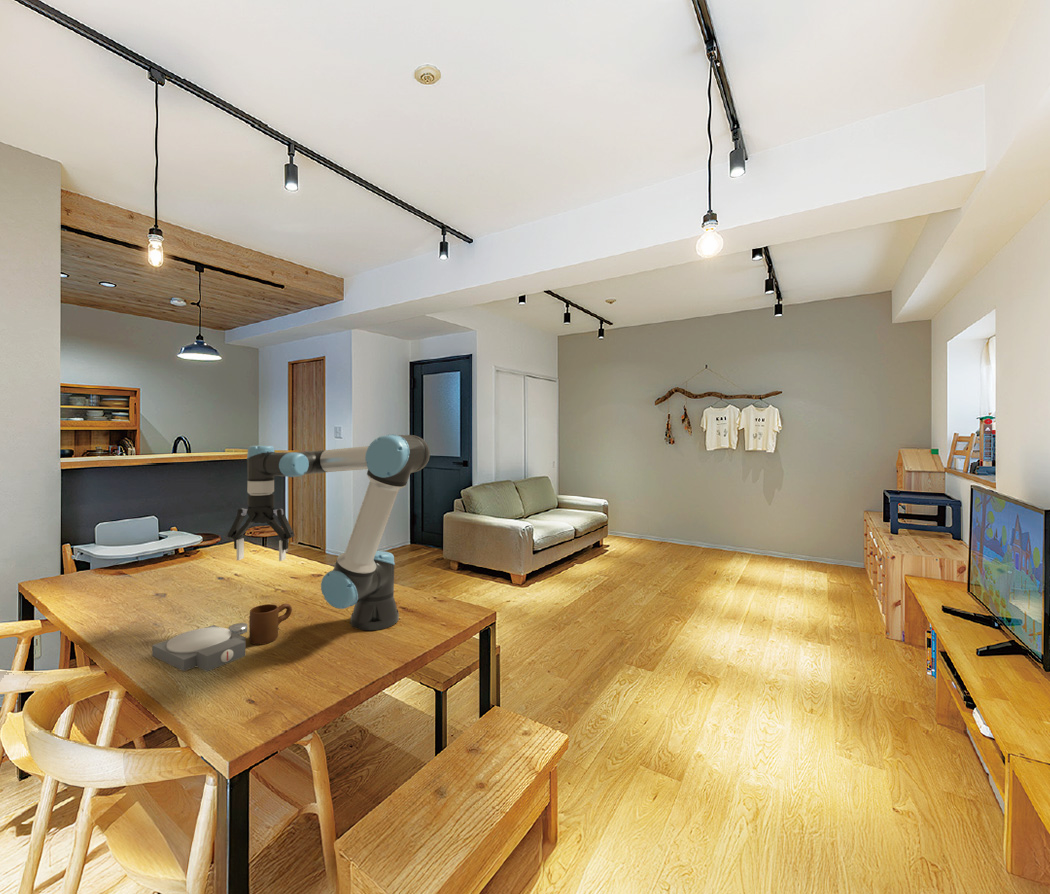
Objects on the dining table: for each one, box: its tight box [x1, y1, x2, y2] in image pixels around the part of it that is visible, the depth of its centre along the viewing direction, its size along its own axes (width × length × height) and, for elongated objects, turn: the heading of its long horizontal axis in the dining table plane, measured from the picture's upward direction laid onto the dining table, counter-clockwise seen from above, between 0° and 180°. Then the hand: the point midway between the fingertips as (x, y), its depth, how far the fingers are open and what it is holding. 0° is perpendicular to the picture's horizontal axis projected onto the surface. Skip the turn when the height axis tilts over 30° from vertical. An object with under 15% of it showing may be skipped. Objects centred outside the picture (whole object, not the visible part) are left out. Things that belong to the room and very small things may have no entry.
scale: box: [151, 624, 247, 672], centre depth 133 cm, size 21×16×4 cm
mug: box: [248, 603, 293, 646], centre depth 145 cm, size 12×8×9 cm, turn 142°
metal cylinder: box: [227, 622, 248, 636], centre depth 148 cm, size 5×5×2 cm
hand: (261, 559), depth 155 cm, fingers open, 13 cm apart
